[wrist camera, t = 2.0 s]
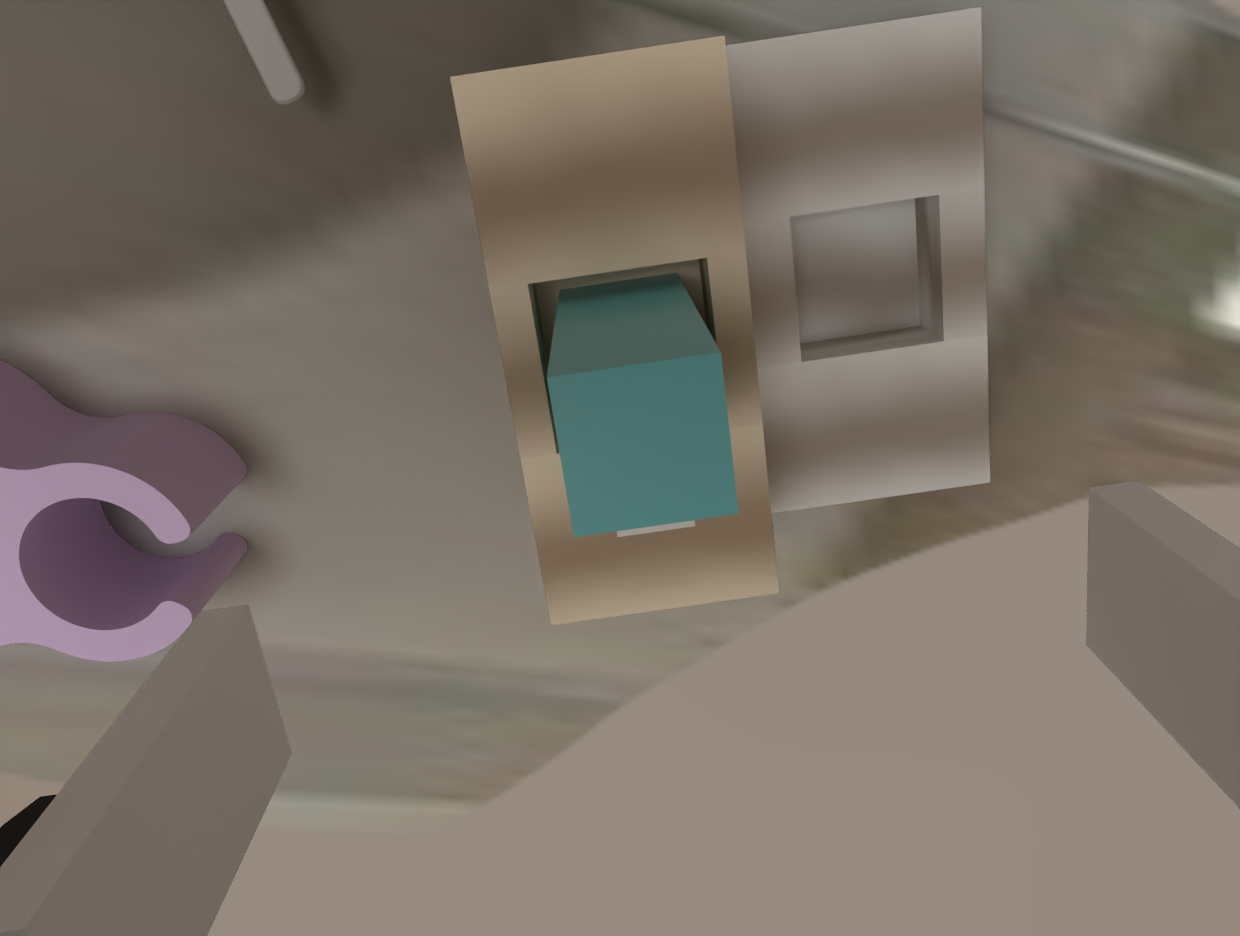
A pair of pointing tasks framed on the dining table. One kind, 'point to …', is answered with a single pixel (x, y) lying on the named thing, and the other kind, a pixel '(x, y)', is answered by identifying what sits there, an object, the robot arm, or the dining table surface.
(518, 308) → the socket block
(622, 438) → the plug
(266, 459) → the dining table surface
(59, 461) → the clip
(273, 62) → the saucepan
